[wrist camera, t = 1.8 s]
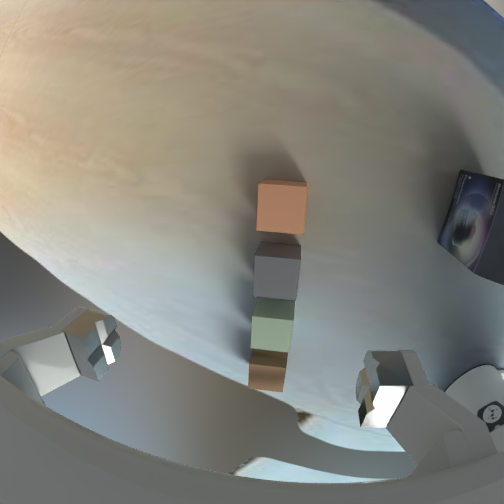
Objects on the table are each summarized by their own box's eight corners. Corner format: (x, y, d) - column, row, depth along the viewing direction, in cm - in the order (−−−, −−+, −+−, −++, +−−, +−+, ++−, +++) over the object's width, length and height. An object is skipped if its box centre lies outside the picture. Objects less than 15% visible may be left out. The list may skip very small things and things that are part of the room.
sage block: (291, 330, 40) (289, 352, 35) (256, 326, 41) (250, 348, 36) (295, 300, 38) (293, 320, 34) (258, 296, 39) (252, 316, 34)
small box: (457, 167, 28) (504, 176, 19) (490, 185, 28) (537, 199, 18) (434, 242, 32) (472, 274, 22) (467, 255, 32) (507, 287, 22)
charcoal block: (297, 281, 37) (295, 300, 33) (259, 278, 38) (252, 296, 33) (300, 245, 35) (300, 259, 31) (260, 241, 36) (254, 255, 32)
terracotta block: (303, 223, 35) (303, 234, 30) (262, 219, 35) (256, 230, 31) (306, 182, 33) (307, 187, 28) (264, 179, 34) (258, 183, 29)
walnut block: (285, 369, 43) (282, 392, 38) (253, 366, 43) (248, 387, 39) (288, 345, 41) (286, 368, 36) (255, 342, 42) (249, 363, 37)
